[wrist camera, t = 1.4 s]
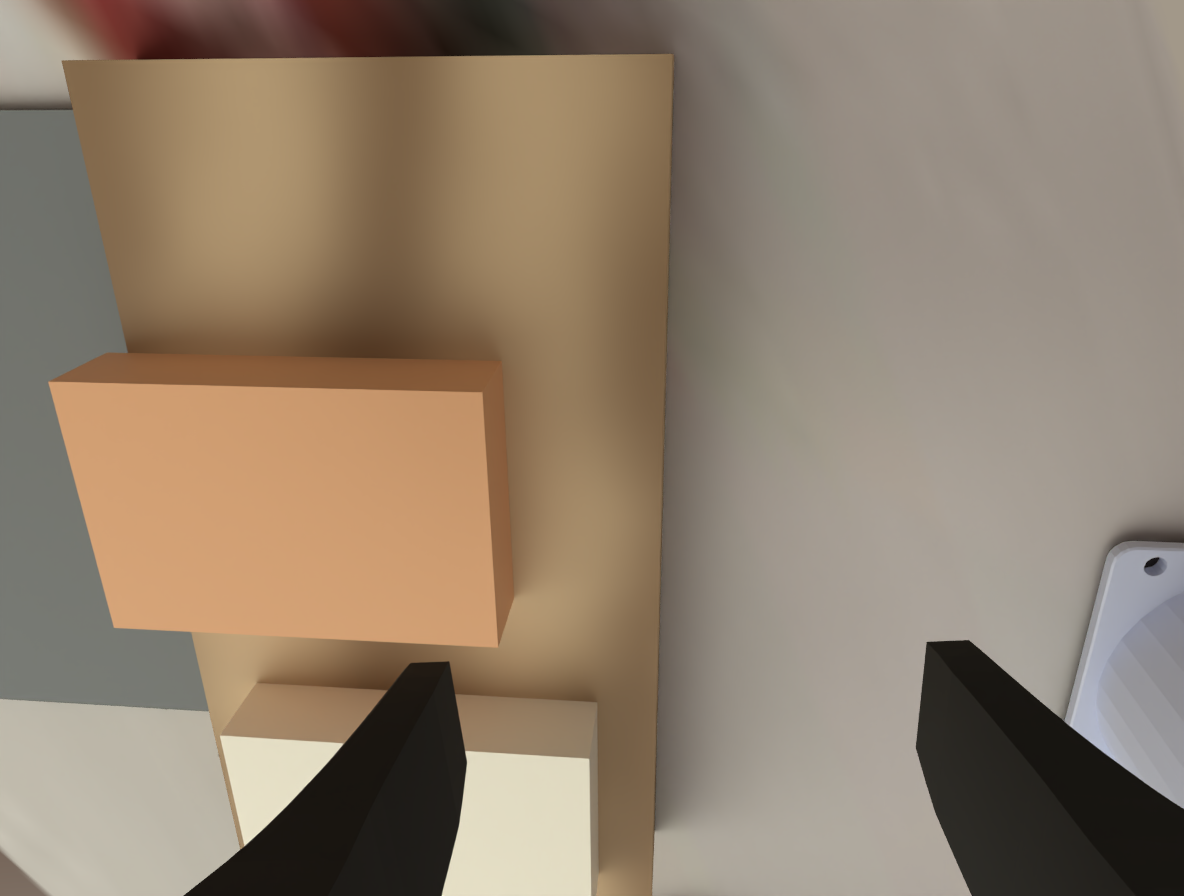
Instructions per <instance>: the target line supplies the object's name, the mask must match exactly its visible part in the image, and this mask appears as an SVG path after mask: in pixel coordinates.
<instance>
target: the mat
mask: <svg viewBox="0 0 1184 896" xmlns="http://www.w3.org/2000/svg"><path fill="white" fill-rule="evenodd" d="M105 353H128V351H127V347H126V342H125V338H124V333H123V329H122V325H121V320H120V316H119V311H118V307H117V303H116V298H115V294H114V289H113V285H112V280H111V276H110V272H109V267H108V263H107V258H106V254H105V250H104V245H103V241H102V236H101V232H100V228H99V223H98V219H97V214H96V210H95V205H94V201H93V197H92V192H91V188H90V183H89V179H88V175H87V170H86V166H85V161H84V157H83V153H82V148H81V144H80V139H79V135H78V130H77V126H76V122H75V117H74V113H73V109H67V110H0V699H11V700H28V701H44V702H61V703H77V704H94V705H111V706H127V707H144V708H160V709H177V710H193V711H209V709H208V704H207V700H206V695H205V691H204V686H203V682H202V678H201V673H200V669H199V664H198V660H197V656H196V651H195V647H194V642H193V638H192V634H191V632H184V631H165V630H146V629H126V628H114V626H113V622H112V618H111V615H110V611H109V607H108V603H107V600H106V596H105V592H104V588H103V585H102V581H101V577H100V574H99V570H98V566H97V562H96V559H95V555H94V551H93V547H92V544H91V540H90V536H89V532H88V529H87V525H86V521H85V517H84V514H83V510H82V506H81V502H80V499H79V495H78V491H77V488H76V484H75V480H74V476H73V473H72V469H71V465H70V461H69V458H68V454H67V450H66V446H65V443H64V439H63V435H62V431H61V428H60V424H59V420H58V417H57V413H56V409H55V405H54V402H53V398H52V394H51V390H50V387H49V383H48V381H50V380H52V379H55V378H57V377H59V376H61V375H63V374H65V373H67V372H69V371H71V370H73V369H75V368H77V367H79V366H81V365H83V364H85V363H87V362H89V361H91V360H93V359H95V358H97V357H99V356H101V355H103V354H105Z"/></svg>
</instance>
